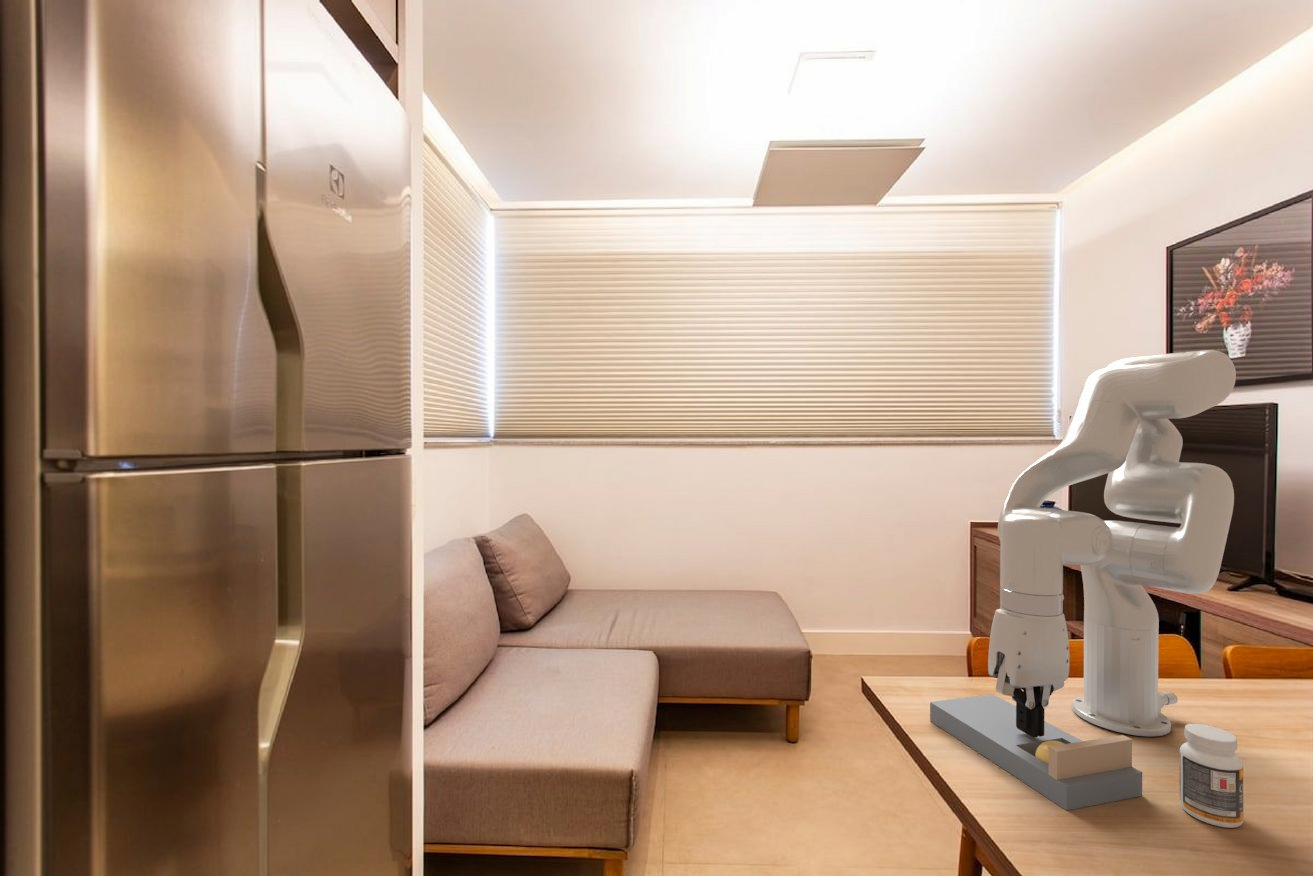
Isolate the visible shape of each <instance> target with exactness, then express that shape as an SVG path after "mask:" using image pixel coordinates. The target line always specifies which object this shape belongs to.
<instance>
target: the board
mask: <svg viewBox="0 0 1313 876" xmlns="http://www.w3.org/2000/svg"><path fill="white" fill-rule="evenodd" d="M929 706H930V707H929V720H930V722H931V723H933V724H934V725H935V726H937V727H939V728H941V730H944V731H945V732H947V733H948V734H950V735H951V736H952V737H954V738H956V739H957V740H959V741H960V742H962V743H963V744H965V745H966V746H968V747H969V748H970V749H972V750H974V751H976V752H977V753H978V754H979V755H981V756H983V757H985V758H986V759H987V760H989V761H990V762H992V763H993V764H995V765H997V766H998V767H999V768H1001V769H1003V770H1004V771H1006V772H1007V773H1009V774H1010V775H1011V776H1012V777H1013V776H1014V777H1015V778H1017V779H1018V780H1019V781H1021V782H1022V783H1024V784H1026V785H1027V786H1028V787H1030V788H1032V789H1033V790H1034V791H1036V792H1037V793H1039V794H1041V795H1042V796H1044V797H1045V798H1047V799H1048V800H1050V801H1051V802H1053V803H1054V804H1056V805H1057V806H1059V807H1060V808H1062V809H1063V810H1065V811H1070V810H1076V809H1081V808H1085V807H1086V808H1087V807H1091V806H1096V805H1101V804H1107V803H1112V802H1118V801H1122V800H1128V799H1132V798H1133V799H1134V798H1137V797H1142V796H1143V771H1141V770H1139V769H1137V768H1135V767H1133V739H1132V738H1131V737H1128V736H1126V735H1124V734H1121V735H1113V736H1108V737H1102V738H1101V737H1100V738H1096V739H1089V740H1084V741H1083V740H1081V739H1080V738H1077V737H1076V736H1074V735H1072V734H1070V733H1068V732H1066V731H1064V730H1063V729H1061V728H1058V727H1056V726H1054V725H1053V724H1051V723H1049V722H1047V721H1045V720H1044V736H1038V737H1031V736H1030V735H1028V734H1026V733H1024V732H1023V731H1021V730H1019V729H1018V728H1017V727H1016V705H1014V704H1012V703H1010V702H1008V700H1005V699H1003V698H1001V697H999V696H997V695H995V694H993V693H991V694H990V693H989V694H983V695H976V696H975V695H974V696H968V697H960V698H952V699H944V700H936V701H930V702H929ZM1046 741H1059V742H1062V743H1064V744H1063V745H1056V746H1050V747H1049V765H1048V764H1046V763H1045V762H1043V761H1041V760H1040V759H1038V758H1036V757H1035V753H1036V750H1037V748H1038V746H1039V745H1040V744H1042V743H1043V742H1046Z"/></svg>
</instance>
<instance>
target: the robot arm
mask: <svg viewBox="0 0 1313 876" xmlns="http://www.w3.org/2000/svg"><path fill="white" fill-rule="evenodd" d="M1236 378H1237V370H1236V367H1235V365H1234V363H1233V360H1232V359H1231V358H1230V357H1229V355H1227V354H1225V352H1222V351H1220V350H1214V349H1203V350H1195V351H1184V352H1173V353H1172V352H1171V353H1163V354H1161V353H1159V354H1150V355H1141V356H1132V357H1128V358H1122V359H1120V360H1119V359H1118V360H1116V361H1114V362H1111V363H1110V364H1108V365H1107V367H1105V368H1101V369H1098V370H1096V371H1094V372H1092V373H1091V374H1090V375H1088V376H1087V378H1086V380H1085V381H1084V383H1083V385H1082V388H1081V389H1080V393H1079V395H1078V398H1077V400H1076V403H1075V406H1074V408H1073V410H1072V414H1071V416H1070V418H1069V421H1068V424H1067V426H1066V428H1065V432H1064V433H1063V437H1062V439H1061V442H1060V443H1059V445H1058V446H1056V447H1055V448H1054V449H1052V450H1051V451H1049V452H1047V453H1045V454H1044V455H1043V456H1041V457H1039V459H1037V460H1036V461H1035V462H1033V463H1032V464H1031V465H1030V466H1028V467H1027V468H1026V469H1025V470H1023V472H1022V473H1020V474H1019V475H1018V476H1017V478H1016V479H1015V480H1014V481H1013V483H1012V485H1011V487H1010V489H1009V490H1008V493H1007V496H1006V498H1005V501H1004V504H1003V505H1002V508H1001V511H1000V514H999V518H998V523H997V536H998V539H999V541H1000V550H999V551H1000V554H999V555H1000V556H999V557H1000V560H999V562H1000V563H999V573H1000V574H999V578H1000V579H999V581H1000V582H999V583H1000V584H999V585H1000V586H999V605H1000V606H999V608H998V609H995V612H994V615H993V619H992V623H991V628H990V634H989V635H990V636H989V645H988V660H987V662H988V663H987V668H988V669H987V671H988V675H989V676H990V677H992V678H994V679H997V680H996V684H995V691H996V692H997V693H1000V694H1001V695H1004V696H1009V697H1011V699H1012V701H1013V702H1015V704H1016V705H1015V706H1016V727H1017V728H1018V729H1019V730H1021V731H1023V732H1024V733H1026V734H1028V735H1030V736H1031V737H1038V736H1044V721H1045V708H1047V707H1048V706H1049V704H1050V703H1049V701H1050V696H1051V695H1052V694H1053V693H1054V692H1056V691H1058V690H1060V689H1062V688H1064V687H1065V682H1066V681H1067V680H1068V678H1069V674H1070V662H1071V661H1070V643H1069V633H1068V627H1067V626H1068V625H1067V622H1066V618H1065V617H1066V616H1065V614H1064V613H1063V611H1064V608H1063V607H1064V606H1063V605H1064V602H1063V601H1064V600H1065V596H1064V592H1063V591H1064V585H1063V584H1064V565H1074V566H1076V565H1078V566H1080V571H1081V578H1082V584H1083V598H1084V599H1083V604H1084V605H1083V609H1084V610H1083V695H1078V696H1077V697H1075V698H1073V699H1072V702H1071V704H1072V705H1071V706H1072V710H1073V712H1074V713H1075V714H1076V715H1077V716H1078V717H1080V718H1081V719H1083V720H1084V721H1085V722H1088V723H1091V724H1093V725H1095V726H1098V727H1101V728H1103V729H1106V730H1109V731H1113V732H1117V733H1120V734H1125V735H1131V736H1137V737H1139V736H1140V737H1154V738H1155V737H1162V736H1165V735H1167V734H1169V733H1170V732H1171V730H1172V723H1171V720H1170V719H1169V718H1168V717H1167V716H1166V715H1164V714H1163V713H1162V708H1163V707H1165V706H1169V705H1170V706H1171V705H1176V704H1177V703H1178V697H1177V695H1176V694H1175V693H1174V692H1172V691H1162V692H1159V628H1160V627H1159V626H1160V625H1159V622H1160V619H1159V612H1158V610H1157V607H1156V604H1155V603H1154V601H1153V600H1152V598H1151V596H1150V595H1149V593H1148V592H1147V590H1145V588H1144V587H1149V588H1155V589H1161V590H1165V591H1171V592H1177V593H1182V594H1189V595H1190V594H1191V595H1199V594H1204V593H1206V592H1208V591H1210V590H1211V589H1212V588H1213V587H1214V586H1215V584H1216V581H1217V579H1218V577H1219V574H1220V570H1221V566H1222V561H1223V558H1224V557H1223V556H1224V552H1225V550H1226V549H1225V548H1226V544H1227V539H1228V534H1229V531H1230V526H1231V521H1232V516H1233V512H1234V505H1235V491H1234V487H1233V485H1234V484H1233V481H1232V480H1231V478H1230V476H1229V474H1228V473H1227V472H1226V471H1224V470H1223V469H1222V468H1220V467H1219V466H1217V465H1212V464H1207V463H1201V462H1183V461H1182V462H1181V461H1180V458H1181V453H1182V449H1183V437H1182V434H1181V433H1180V431H1179V430H1178V429H1177V427H1176V426H1175V424H1173V422H1171V421H1170V419H1184V418H1189V417H1192V416H1195V415H1198V414H1200V413H1202V412H1205V411H1207V410H1209V409H1211V408H1214V407H1215V406H1218V405H1219V404H1221V403H1222V402H1224V401H1225V400H1226V399H1227V398H1228V397H1229V396H1230V394H1232V392H1233V390H1234V387H1235V385H1236V380H1237V379H1236ZM1103 475H1107V477H1106V482H1105V486H1104V492H1103V500H1104V501H1103V502H1104V504H1105V506H1106V508H1107V509H1108V510H1109V511H1111V512H1112V513H1114V514H1115V515H1118V516H1121V517H1124V518H1125V517H1126V518H1130V519H1138V520H1146V521H1153V522H1154V521H1155V522H1162V523H1163V522H1165V523H1173V524H1180V526H1179V527H1176V526H1167V525H1159V524H1157V525H1156V524H1151V523H1150V524H1149V523H1144V522H1143V523H1142V522H1133V521H1123V520H1112V519H1111V520H1104V519H1102V518H1100V517H1098V516H1096V515H1094V514H1092V513H1088V512H1084V511H1082V512H1081V511H1077V510H1076V511H1075V510H1066V509H1065V510H1064V509H1059V508H1050V507H1041V506H1042V505H1043V504H1044V502H1045V501H1047V499H1048V498H1049V497H1050V496H1053V494H1055V493H1056V492H1058V491H1060V490H1062V489H1064V488H1067V487H1069V486H1071V485H1074V484H1078V483H1081V482H1084V481H1089V480H1091V479H1094V478H1097V477H1101V476H1103Z"/></svg>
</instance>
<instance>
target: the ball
mask: <svg viewBox="0 0 1313 876" xmlns="http://www.w3.org/2000/svg"><path fill="white" fill-rule="evenodd" d="M1063 744H1064V743H1062V742H1059V741H1046V742H1043V743H1042V744H1040V745H1039V746H1038V748H1037V750H1036V753H1035V757H1036V758H1038V759H1040V760H1041V761H1043V762H1045V763H1046V764H1048V765H1049V747H1050V746H1056V745H1063Z"/></svg>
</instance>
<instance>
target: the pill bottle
mask: <svg viewBox="0 0 1313 876" xmlns="http://www.w3.org/2000/svg"><path fill="white" fill-rule="evenodd" d="M1183 735H1184V737H1185V738H1186V742H1184V743H1182V744H1181V745H1180V748H1179V803H1180V806H1181V808H1182V809H1183V810H1184V811H1185V812H1186V813H1187V814H1189V815H1190V816H1191V817H1193V818H1195V819H1196V820H1198V821H1201V822H1203V823H1205V824H1206V823H1207V824H1208V825H1213V826H1217V827H1219V828H1220V827H1221V828H1226V829H1227V828H1231V829H1232V828H1239V827H1241V826H1242V825H1243V823H1244V764H1243V761H1242V759H1241V758H1240V757H1239V756H1238V754H1237V753H1235V752H1236V751H1237V750H1238V739H1237V738H1238V737H1236V736H1235V735H1234V734H1232V733H1231V732H1229V731H1226V730H1225V729H1222V728H1219V727H1216V726H1211V725H1208V724H1202V723H1188V724H1185V726H1184V734H1183Z"/></svg>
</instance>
